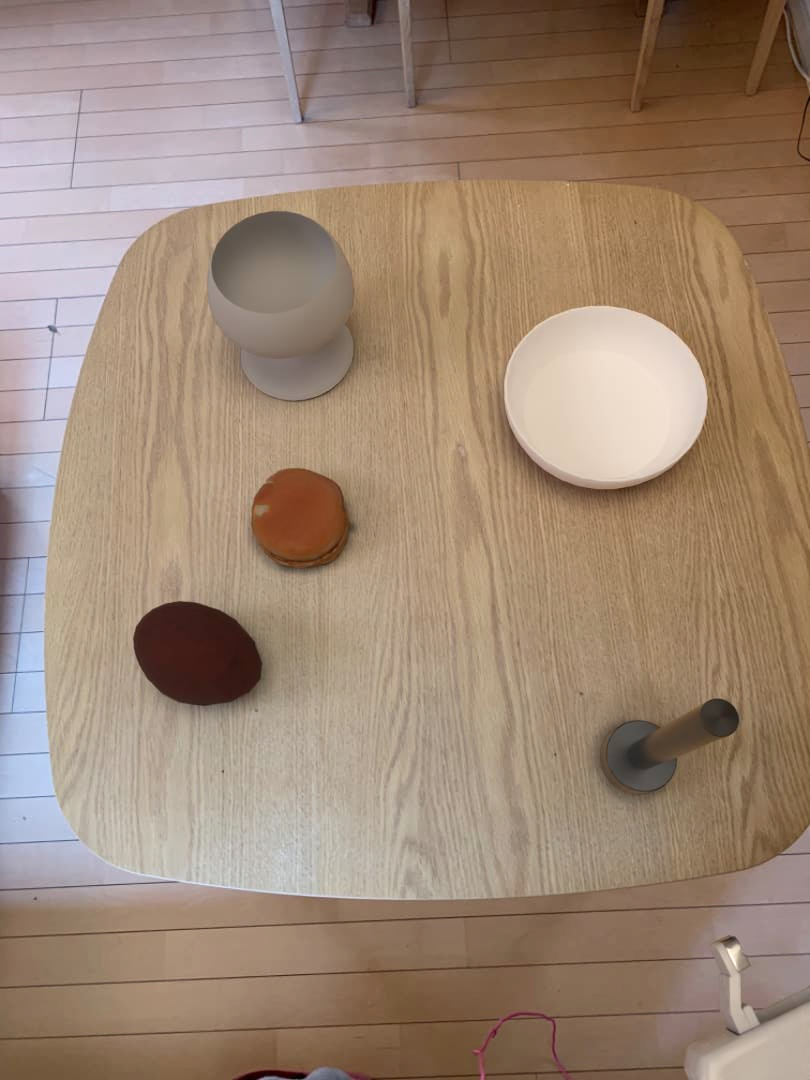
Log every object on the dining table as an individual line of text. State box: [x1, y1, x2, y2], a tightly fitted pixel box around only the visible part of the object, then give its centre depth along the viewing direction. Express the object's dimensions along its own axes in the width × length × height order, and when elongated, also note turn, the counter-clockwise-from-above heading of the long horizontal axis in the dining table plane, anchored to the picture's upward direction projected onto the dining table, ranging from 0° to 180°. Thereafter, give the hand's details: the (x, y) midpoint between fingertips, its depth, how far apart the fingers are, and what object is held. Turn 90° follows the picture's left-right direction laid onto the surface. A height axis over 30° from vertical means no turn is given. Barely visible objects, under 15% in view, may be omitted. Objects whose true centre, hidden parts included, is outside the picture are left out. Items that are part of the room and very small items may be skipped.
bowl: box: [503, 305, 709, 490], centre depth 85 cm, size 20×20×6 cm
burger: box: [250, 467, 350, 569], centre depth 82 cm, size 10×9×5 cm
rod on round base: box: [599, 698, 740, 795], centre depth 64 cm, size 6×6×24 cm
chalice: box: [206, 210, 355, 401], centre depth 84 cm, size 14×14×15 cm
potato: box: [132, 600, 263, 707], centre depth 75 cm, size 9×12×9 cm
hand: (787, 909), depth 54 cm, fingers open, 8 cm apart
